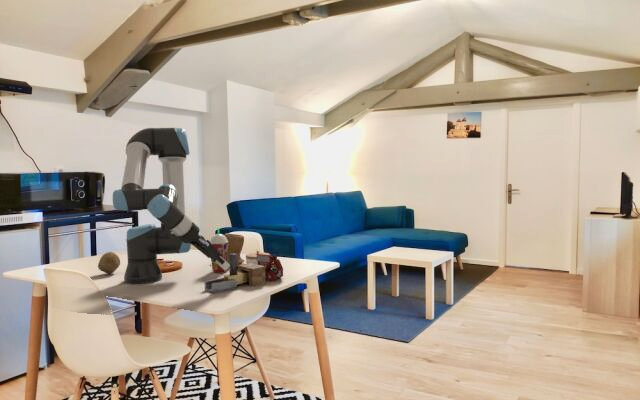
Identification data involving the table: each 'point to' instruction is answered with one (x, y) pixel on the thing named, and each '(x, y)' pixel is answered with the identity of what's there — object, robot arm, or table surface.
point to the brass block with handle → (236, 271)
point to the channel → (220, 285)
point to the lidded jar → (253, 257)
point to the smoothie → (220, 250)
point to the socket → (254, 273)
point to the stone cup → (235, 245)
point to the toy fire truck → (270, 266)
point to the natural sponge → (109, 262)
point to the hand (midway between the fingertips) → (227, 267)
